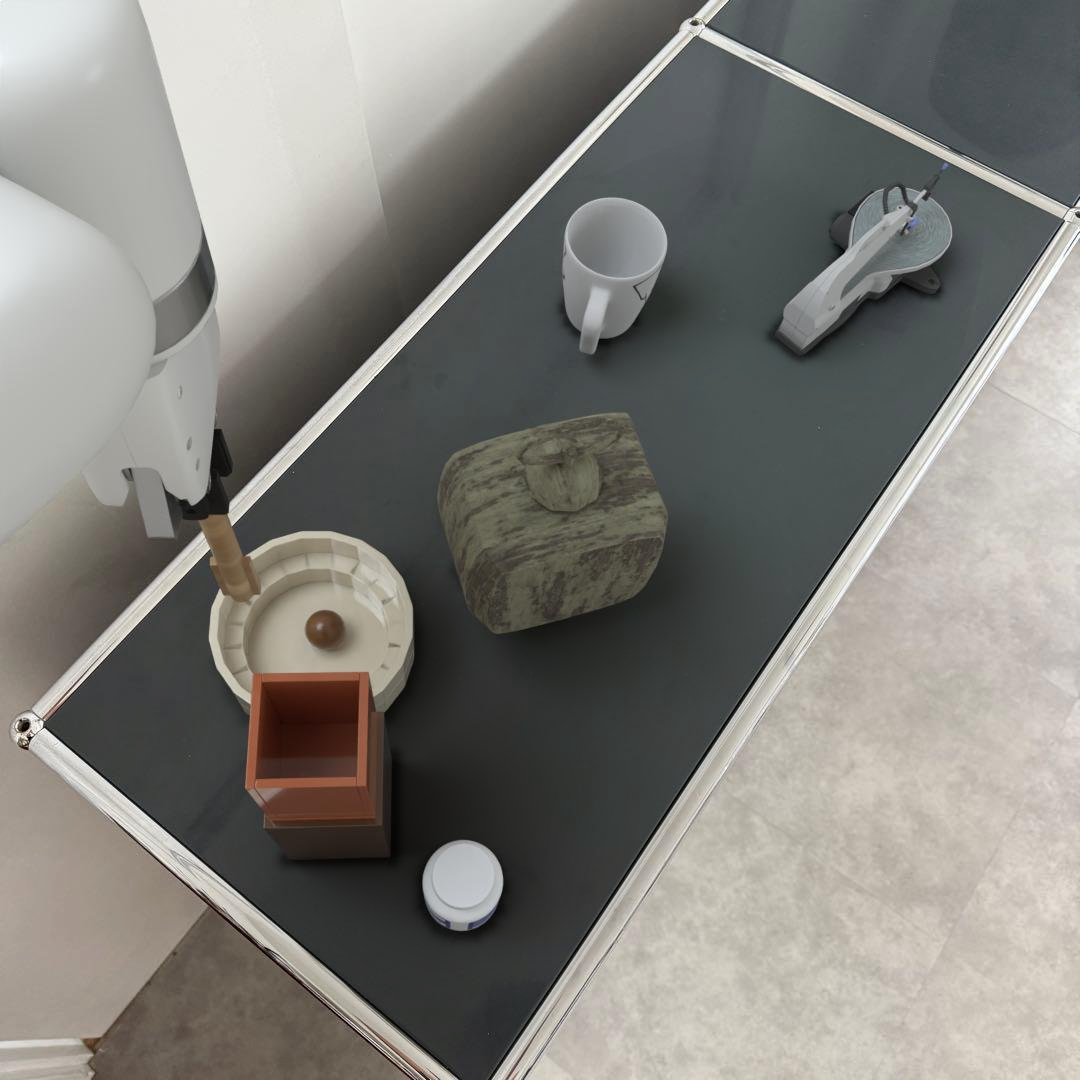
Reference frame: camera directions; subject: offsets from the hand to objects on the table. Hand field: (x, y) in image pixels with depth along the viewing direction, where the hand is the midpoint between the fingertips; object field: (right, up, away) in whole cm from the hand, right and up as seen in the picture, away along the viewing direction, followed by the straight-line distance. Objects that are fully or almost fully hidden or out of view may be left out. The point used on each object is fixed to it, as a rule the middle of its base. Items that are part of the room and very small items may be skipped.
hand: (200, 489), depth 58 cm
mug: (+23, +16, +40) cm, 49 cm away
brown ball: (+2, -9, +24) cm, 26 cm away
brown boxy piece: (+4, -22, +21) cm, 30 cm away
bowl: (+1, -11, +25) cm, 28 cm away
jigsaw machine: (+47, +21, +44) cm, 68 cm away
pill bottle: (+12, -27, +19) cm, 36 cm away
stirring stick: (-1, -6, +13) cm, 14 cm away
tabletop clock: (+18, -6, +29) cm, 35 cm away
